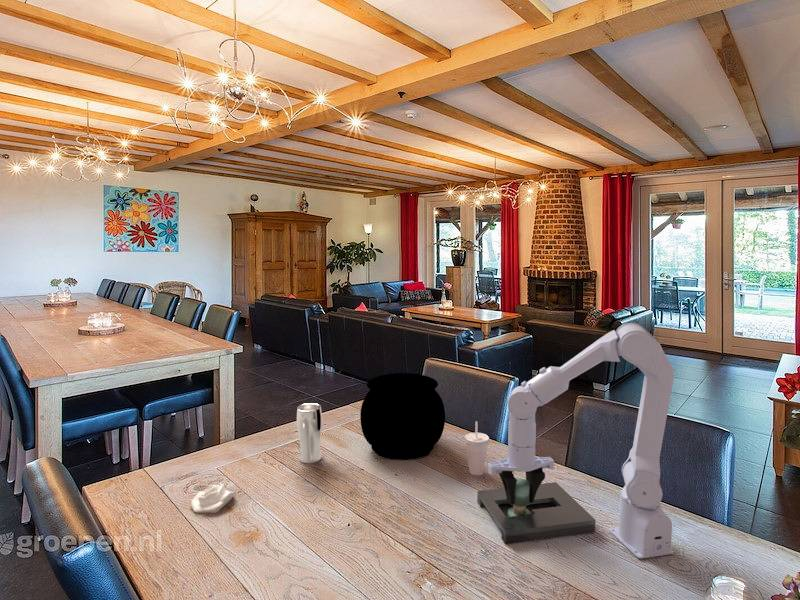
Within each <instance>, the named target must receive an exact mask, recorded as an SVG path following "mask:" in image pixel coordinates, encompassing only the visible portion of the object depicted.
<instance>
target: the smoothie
mask: <svg viewBox="0 0 800 600" xmlns="http://www.w3.org/2000/svg"><path fill="white" fill-rule="evenodd" d="M478 425H479V423H478V421H475V425H474V426H475V427H474V428H475V430H474V432H469V433H467V434H465V435H464V442H465V444H466V446H465V447H466V454H467V462H468V463H467V464H468V471H469V474H471V475H473V476H482V475H484V472H485V465H486V459H487V457H486V456H487V450H488V444H489V443H490V437H489V436H488V435H487V434H486V433H482V432H478Z"/></svg>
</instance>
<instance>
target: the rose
mask: <svg viewBox="0 0 800 600" xmlns="http://www.w3.org/2000/svg"><path fill="white" fill-rule="evenodd" d="M235 495H236V492H235V491H230V490H228V489H226V487H225V485H224V484H223V483H220V484H217V485H215V484H209V485H208V486H206V487H205V489H204V490H202V491H201V490H200V491H199V492H198V493H196V495H195V496H194V497H193V498H192V500H191V502H190V507H191V509H192V511H193V512H194V513H195V514H202V513H203V514H205V513H208V514H209V513H210V514H215V513H218V512H219V511H220V510H221V509H222V508H223V507H224V506H226V505H227V504H228V503H229V502H230V501H231V500H232V499H233V497H234V496H235Z"/></svg>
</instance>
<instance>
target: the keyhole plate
mask: <svg viewBox="0 0 800 600" xmlns="http://www.w3.org/2000/svg"><path fill="white" fill-rule="evenodd" d="M476 493H477V494H476V495H477V498H476V499H477V500H476V503H477V504H478V506H479V507H485V508H486V510H487V511H488V513H489V514H490V516H491V517H492V519H493V520H494V522H495V523H496V525H498V527H499V529H500V530H501V533H500V534H501V536H500V537H501V538H500V539H501V540H502V542H503V543H504V545H505V546H506V545H512V544H520V543H526V542H535V541H536V542H537V541H541V540H548V539H557V538H563V537H565V538H566V537H570V536H579V535H586V534H592V533H596V519H595V518H594V517H593V516H592V515H591V514H590V513H589V512H588V511H587V510H586V509H585V508H584V507H583V506H581V504H580V503H578V502H577V500H576V499H575V498H573V496H571V495H570V493H568V492H567V491H566V490H565V489H564V488H563V487H561V485H560V484H558V483H557V482H555V481H554V482H546V483H541V484H540V486H539V488H538V490H537V492H536V495H535V498H534V502H533V503H530V502H529V505H536V504H545V503H554V504H555V505H556V506H552V507H541V508H535V509H531V514H527V515H519V516H511V517H508V516H506V515H505V513H504V512H503V511H502V509H501V508H500V506H499V505H507V504H509V503H508V501H507V497H506V492H505V488H504V487H501V488H493V489H492V488H491V489H483V490H477V492H476ZM509 505H510V504H509Z"/></svg>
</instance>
